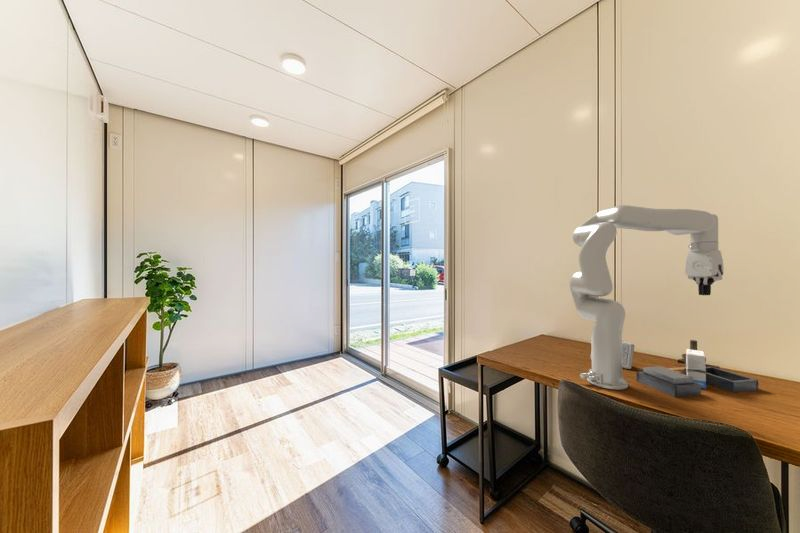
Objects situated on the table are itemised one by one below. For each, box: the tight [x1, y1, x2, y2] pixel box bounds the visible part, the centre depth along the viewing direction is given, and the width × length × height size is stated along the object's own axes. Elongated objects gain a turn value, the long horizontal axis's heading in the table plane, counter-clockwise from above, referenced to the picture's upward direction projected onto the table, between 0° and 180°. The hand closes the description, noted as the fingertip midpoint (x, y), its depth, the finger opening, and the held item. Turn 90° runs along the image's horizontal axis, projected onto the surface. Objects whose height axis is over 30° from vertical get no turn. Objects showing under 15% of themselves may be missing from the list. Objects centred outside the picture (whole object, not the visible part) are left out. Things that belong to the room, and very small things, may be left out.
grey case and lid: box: [636, 365, 759, 398], centre depth 108 cm, size 33×14×6 cm, turn 97°
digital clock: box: [590, 340, 635, 370], centre depth 132 cm, size 16×9×11 cm, turn 20°
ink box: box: [685, 348, 707, 390], centre depth 110 cm, size 9×5×12 cm, turn 137°
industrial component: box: [681, 339, 707, 367], centre depth 124 cm, size 9×7×12 cm
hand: (704, 294), depth 114 cm, fingers closed
